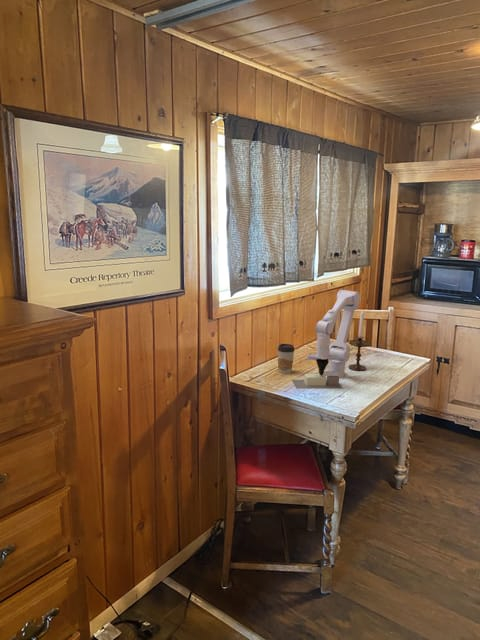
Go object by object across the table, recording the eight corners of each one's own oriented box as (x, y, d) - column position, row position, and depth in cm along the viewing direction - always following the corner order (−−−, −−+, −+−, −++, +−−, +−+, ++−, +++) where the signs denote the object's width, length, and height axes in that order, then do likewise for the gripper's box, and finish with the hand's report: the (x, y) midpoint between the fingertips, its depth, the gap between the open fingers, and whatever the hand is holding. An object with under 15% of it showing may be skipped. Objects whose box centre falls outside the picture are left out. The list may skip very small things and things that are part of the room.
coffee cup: (274, 375, 243) (275, 346, 240) (279, 370, 251) (280, 342, 247) (290, 378, 240) (292, 348, 237) (294, 373, 248) (296, 344, 244)
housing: (291, 382, 234) (291, 371, 233) (335, 382, 236) (336, 371, 235) (296, 391, 222) (296, 380, 221) (343, 391, 224) (344, 380, 223)
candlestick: (352, 372, 253) (358, 305, 245) (343, 365, 263) (348, 301, 255) (371, 371, 255) (377, 305, 247) (362, 365, 265) (368, 301, 258)
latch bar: (322, 374, 229) (322, 371, 229) (337, 374, 230) (337, 371, 229) (323, 375, 227) (323, 372, 227) (338, 376, 228) (338, 372, 227)
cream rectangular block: (304, 382, 230) (304, 374, 230) (322, 382, 231) (323, 374, 230) (306, 385, 226) (307, 377, 225) (325, 385, 226) (326, 377, 226)
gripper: (309, 348, 220) (307, 377, 223) (340, 348, 222) (338, 377, 225) (306, 344, 227) (304, 372, 230) (336, 344, 228) (334, 372, 231)
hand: (321, 374), depth 228 cm, fingers closed
